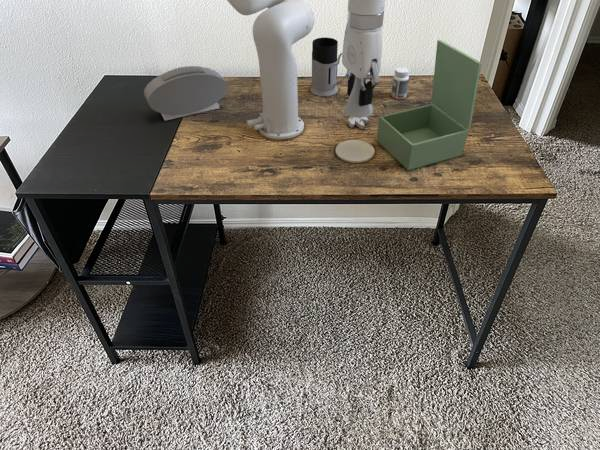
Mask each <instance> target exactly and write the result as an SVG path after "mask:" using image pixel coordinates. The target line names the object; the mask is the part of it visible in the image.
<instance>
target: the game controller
mask: <svg viewBox="0 0 600 450" xmlns="http://www.w3.org/2000/svg"><path fill="white" fill-rule="evenodd" d="M340 111H341V113H342V114H343V115H345V116H347V114H346V113H345V114H344V111H342V110H341V109H340V110H339V112H340ZM368 121H369V118H368V116H367V117H361V118H358V117H351V116H349V118H348V119H347V124H348V127H350V128H355V127H357V128H359V129H361V130H364V129H365V124H368Z"/></svg>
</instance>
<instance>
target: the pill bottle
mask: <svg viewBox="0 0 600 450" xmlns="http://www.w3.org/2000/svg"><path fill="white" fill-rule="evenodd" d="M409 73H410V69H409V68H408V67H404V66H398V67H395V69H394V75H393V76H392V85H391V92H390V96H391V97H392V98H394V99H396V100H403V99H406V98H407V97H408V89H409V81H410V75H409Z"/></svg>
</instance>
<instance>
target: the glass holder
mask: <svg viewBox="0 0 600 450" xmlns="http://www.w3.org/2000/svg"><path fill="white" fill-rule="evenodd" d="M338 43H339V41H338V40H337V39H336V38H333V37H327V36H326V37H318V38H315V39H314V40H312V43H311V44H312V46H311V47H312V50H311V87H310V92H311V94H313V95H315V96H318V97H330V96H335V95H336V94H337V93H338V91H339V88H338V84H339V83H341V82H342V81H344V80H345V79H347V73H348V70H346V73H345V75H344V76H343V78H342V79H340V80H338V66H339V65H340V62H341V58H342V52H340V54H339V55H338V47H339V44H338Z"/></svg>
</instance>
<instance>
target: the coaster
mask: <svg viewBox="0 0 600 450" xmlns="http://www.w3.org/2000/svg"><path fill="white" fill-rule="evenodd" d="M375 151H376V150H375V148H374V146H373V145H372V144H371V143H369V142H367V141H364V140H360V139H348V140H344V141H342V142H339V143H338V144H337V145H336V147H335V155H336V157H337V158H338V159H340V160H342V161H344V162H346V163H352V164H360V163H361V164H363V163H366V162H368V161H370V160H372V159H373V158H374V156H375Z"/></svg>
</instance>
